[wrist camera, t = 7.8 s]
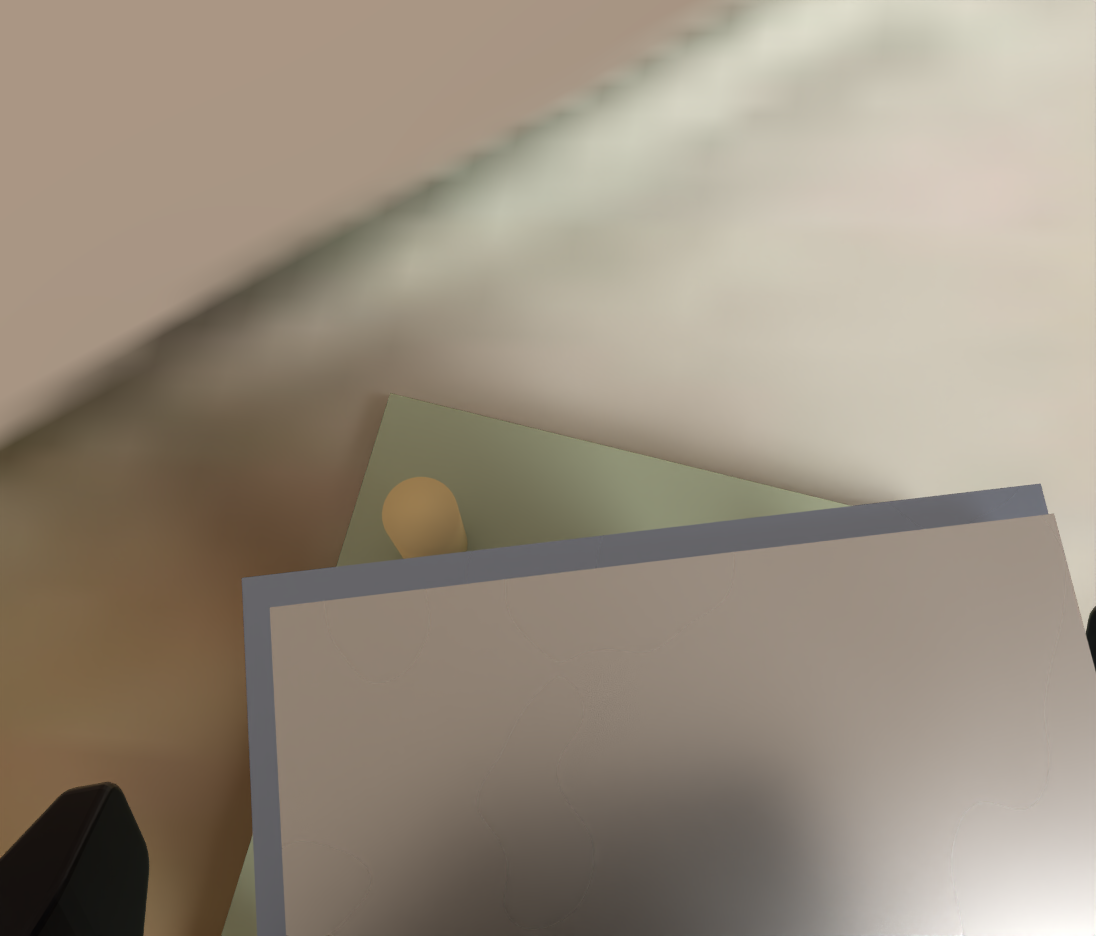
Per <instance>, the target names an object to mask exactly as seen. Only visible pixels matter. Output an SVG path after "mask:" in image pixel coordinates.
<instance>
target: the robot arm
mask: <svg viewBox="0 0 1096 936" xmlns="http://www.w3.org/2000/svg"><path fill="white" fill-rule="evenodd" d="M1086 637H1087V641H1088V645H1089V649H1090V652H1091V656H1092V660H1093V664H1094V667H1095V671H1096V606H1095V607H1094V608H1093V610H1092V611H1091V613H1090V615H1089V619H1088V624H1087V629H1086ZM148 877H149V857H148V850H147V846H146V843H145V840H144V838H143V836H142V834H141V831H140V829H139V827H138V825H137V823H136V820H135V818H134V816H133V814H132V811H131V809H130V807H129V805H128V803H127V800H126V798H125V796H124V794H123V792H122V790H121V789H120V787H119V786H117V785H116V784H115V783H111V782H103V783H98V784H92V785H87V786H81V787H76V788H72V789H69V790H67V791H65V792H64V793H63V794H61V795H60V796H59V797H58V798H57V799H56V800H55V801H54V802H53V803H52V804H51V805H50V806H49V808H48V809H47V810H46V811H45V812H44V813H43V814H42V815H41V816H40V817H39V818H38V819H37V820H36V821H35V822H34V823H33V824H32V825H31V827H30V828H29V829H28V830H27V831H26V832H25V833H24V834H23V835H22V836H21V837H20V838H19V839H18V840H17V841H16V842H15V843H14V844H13V846H12V847H11V848H10V849H9V850H8V851H7V852H6V853H5V854H4V855H3V856H2V857H1V858H0V936H143V933H144V922H145V911H146V899H147V888H148Z"/></svg>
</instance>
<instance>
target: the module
mask: <svg viewBox="0 0 1096 936" xmlns="http://www.w3.org/2000/svg"><path fill="white" fill-rule="evenodd" d="M242 596H243V619H244V642H245V665H246V689H247V712H248V735H249V758H250V781H251V804H252V827H253V851H254V874H255V897H256V920H257V936H1096V671H1095V667H1094V664H1093V660H1092V656H1091V652H1090V649H1089V645H1088V641H1087V637H1086V633H1085V630H1084V626H1083V622H1082V618H1081V614H1080V611H1079V607H1078V603H1077V599H1076V595H1075V592H1074V588H1073V584H1072V580H1071V576H1070V573H1069V569H1068V565H1067V561H1066V557H1065V554H1064V550H1063V546H1062V542H1061V539H1060V535H1059V531H1058V527H1057V523H1056V520H1055V516H1054V514H1048V510H1047V506H1046V503H1045V499H1044V495H1043V491H1042V487H1041V484H1034V485H1025V486H1017V487H1008V488H1000V489H991V490H983V491H974V492H966V493H957V494H949V495H940V496H932V497H923V498H915V499H907V500H898V501H890V502H881V503H873V504H864V505H856V506H847V507H839V508H830V509H822V510H813V511H805V512H796V513H788V514H779V515H771V516H762V517H754V518H745V519H737V520H729V521H720V522H712V523H703V524H695V525H686V526H678V527H669V528H661V529H652V530H644V531H635V532H627V533H618V534H610V535H601V536H593V537H584V538H576V539H568V540H559V541H551V542H542V543H534V544H525V545H517V546H508V547H500V548H491V549H483V550H474V551H466V552H457V553H449V554H440V555H432V556H423V557H415V558H407V559H398V560H390V561H381V562H373V563H364V564H356V565H347V566H339V567H330V568H322V569H313V570H305V571H296V572H288V573H279V574H271V575H262V576H254V577H245V578H242Z"/></svg>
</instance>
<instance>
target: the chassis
mask: <svg viewBox="0 0 1096 936" xmlns="http://www.w3.org/2000/svg"><path fill="white" fill-rule="evenodd" d="M847 506H850V505H846V504H842V503H838V502H834V501H830V500H826V499H822V498H818V497H814V496H810V495H805V494H801V493H797V492H793V491H789V490H785V489H781V488H777V487H773V486H769V485H765V484H760V483H756V482H752V481H748V480H744V479H740V478H736V477H732V476H728V475H724V474H720V473H715V472H711V471H707V470H703V469H699V468H695V467H691V466H687V465H683V464H679V463H675V462H670V461H666V460H662V459H658V458H654V457H650V456H646V455H642V454H638V453H634V452H629V451H625V450H621V449H617V448H613V447H609V446H605V445H601V444H597V443H593V442H589V441H584V440H580V439H576V438H572V437H568V436H564V435H560V434H556V433H552V432H548V431H544V430H539V429H535V428H531V427H527V426H523V425H519V424H515V423H511V422H507V421H503V420H499V419H494V418H490V417H486V416H482V415H478V414H474V413H470V412H466V411H462V410H458V409H454V408H449V407H445V406H441V405H437V404H433V403H429V402H425V401H421V400H417V399H413V398H408V397H404V396H400V395H396V394H392V393H390V395H389V399H388V402H387V405H386V408H385V411H384V415H383V418H382V421H381V424H380V428H379V431H378V434H377V437H376V440H375V444H374V447H373V450H372V453H371V456H370V460H369V463H368V466H367V469H366V472H365V476H364V479H363V482H362V485H361V489H360V492H359V495H358V498H357V501H356V505H355V508H354V511H353V514H352V517H351V521H350V524H349V527H348V530H347V533H346V537H345V540H344V543H343V546H342V550H341V553H340V556H339V559H338V562H337V566H336V567H339V566H347V565H356V564H364V563H373V562H381V561H390V560H398V559H407V558H415V557H423V556H432V555H440V554H449V553H457V552H466V551H474V550H483V549H491V548H500V547H508V546H517V545H525V544H534V543H542V542H551V541H559V540H568V539H576V538H584V537H593V536H601V535H610V534H618V533H627V532H635V531H644V530H652V529H661V528H669V527H678V526H686V525H695V524H703V523H712V522H720V521H729V520H737V519H745V518H754V517H762V516H771V515H779V514H788V513H796V512H805V511H813V510H822V509H830V508H839V507H847ZM221 936H257V920H256V897H255V874H254V851H253V835H252V838H251V842H250V845H249V848H248V851H247V854H246V858H245V861H244V864H243V867H242V870H241V874H240V877H239V880H238V883H237V887H236V890H235V893H234V896H233V899H232V903H231V906H230V909H229V912H228V915H227V919H226V922H225V925H224V928H223V931H222V935H221Z"/></svg>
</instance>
